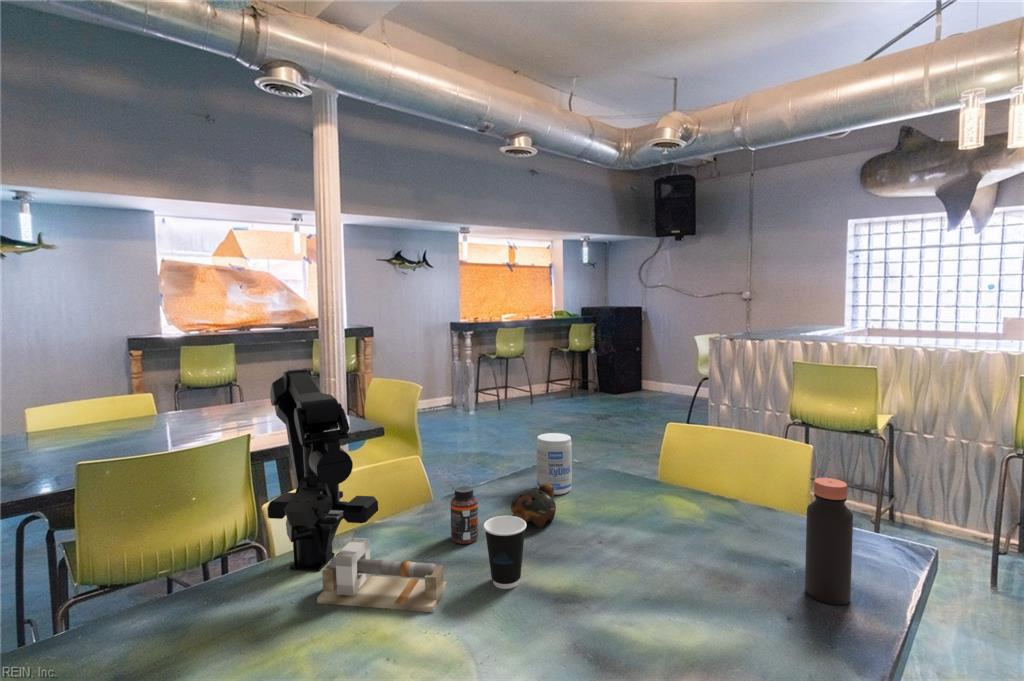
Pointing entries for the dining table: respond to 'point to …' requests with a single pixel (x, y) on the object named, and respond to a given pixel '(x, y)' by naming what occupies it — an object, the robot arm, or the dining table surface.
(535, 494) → the ocarina
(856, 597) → the dining table surface
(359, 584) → the collar
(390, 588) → the pipe rig
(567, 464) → the supplement tub
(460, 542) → the supplement bottle
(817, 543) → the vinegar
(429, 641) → the dining table surface
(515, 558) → the dixie cup
